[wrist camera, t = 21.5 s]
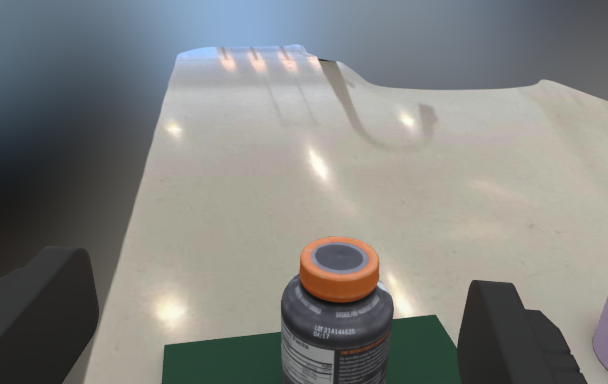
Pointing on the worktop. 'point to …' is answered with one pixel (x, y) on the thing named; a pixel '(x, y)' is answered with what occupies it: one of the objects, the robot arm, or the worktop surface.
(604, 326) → the clip
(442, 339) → the mat
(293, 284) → the pill bottle
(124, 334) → the worktop surface
